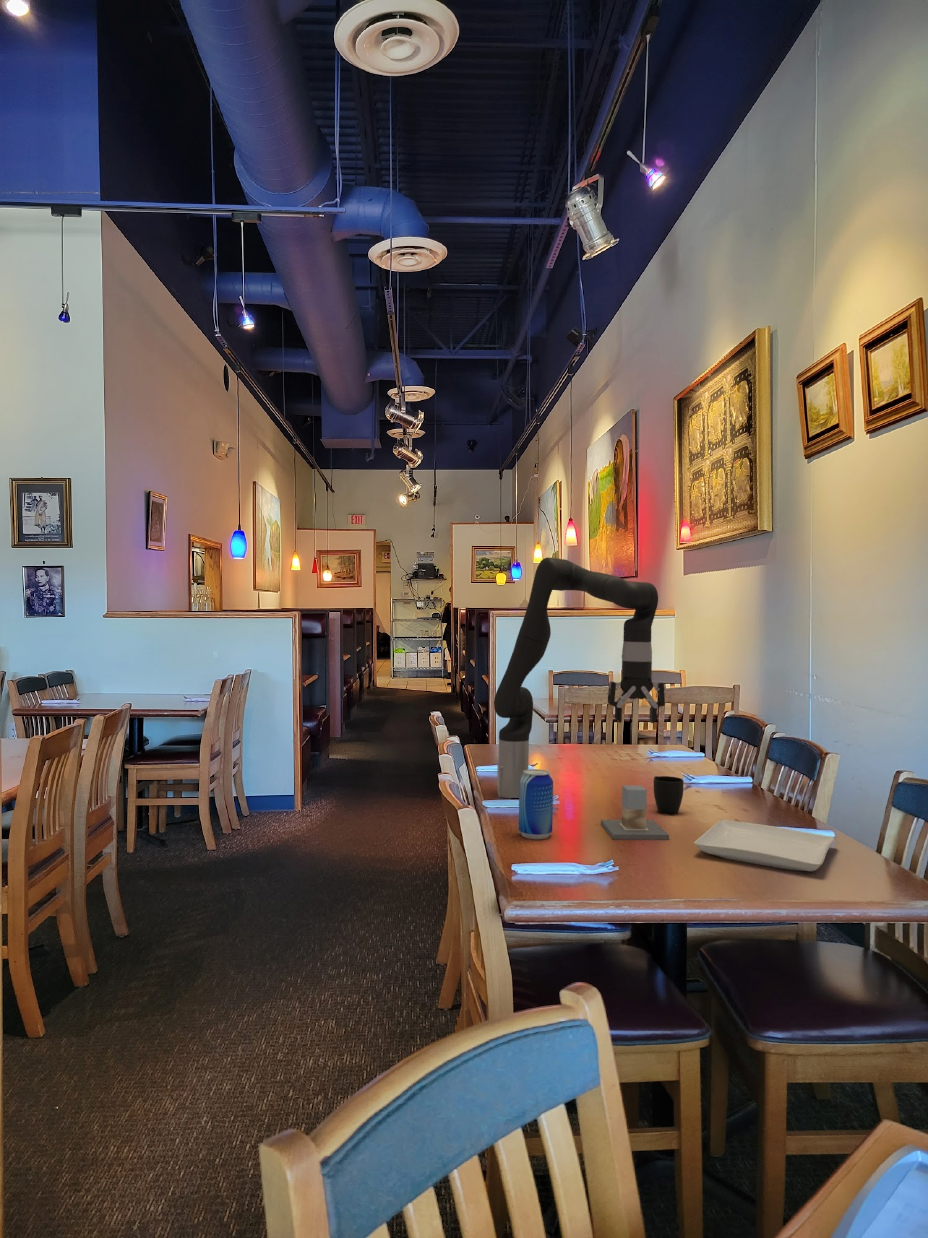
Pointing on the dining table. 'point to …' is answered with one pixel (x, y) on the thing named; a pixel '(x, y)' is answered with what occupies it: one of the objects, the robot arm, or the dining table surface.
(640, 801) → the bluegrey cube
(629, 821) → the maple cube
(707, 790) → the dining table surface
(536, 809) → the beer can
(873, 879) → the dining table surface
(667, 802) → the mug
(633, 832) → the board
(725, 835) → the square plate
